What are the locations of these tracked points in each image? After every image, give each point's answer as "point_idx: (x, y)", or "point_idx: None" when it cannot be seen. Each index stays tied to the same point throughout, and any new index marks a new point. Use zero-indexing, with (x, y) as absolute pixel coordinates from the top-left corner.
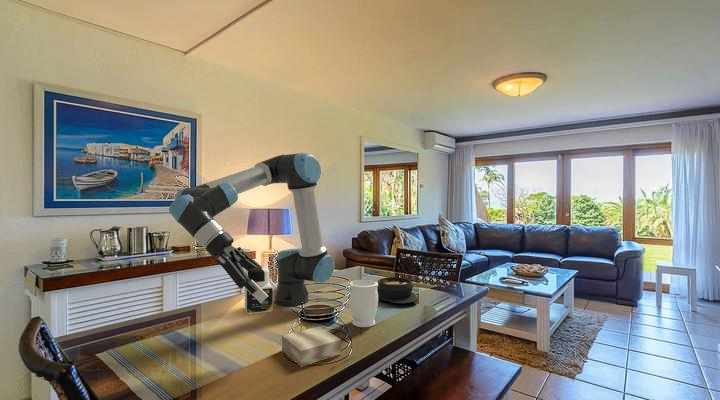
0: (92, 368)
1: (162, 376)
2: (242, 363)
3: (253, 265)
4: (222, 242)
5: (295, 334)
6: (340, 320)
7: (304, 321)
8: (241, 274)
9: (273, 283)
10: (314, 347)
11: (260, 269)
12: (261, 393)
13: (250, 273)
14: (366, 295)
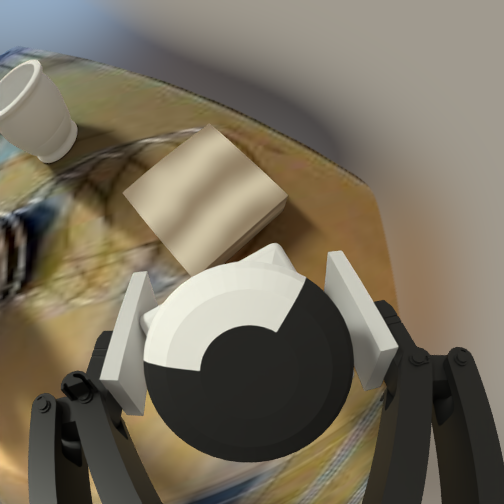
0: None
1: (352, 475)
2: None
3: (124, 463)
4: None
5: (183, 241)
6: (33, 194)
7: (32, 280)
8: (466, 394)
9: (136, 290)
10: (260, 170)
11: (295, 329)
12: (389, 256)
13: (344, 399)
14: (48, 83)
